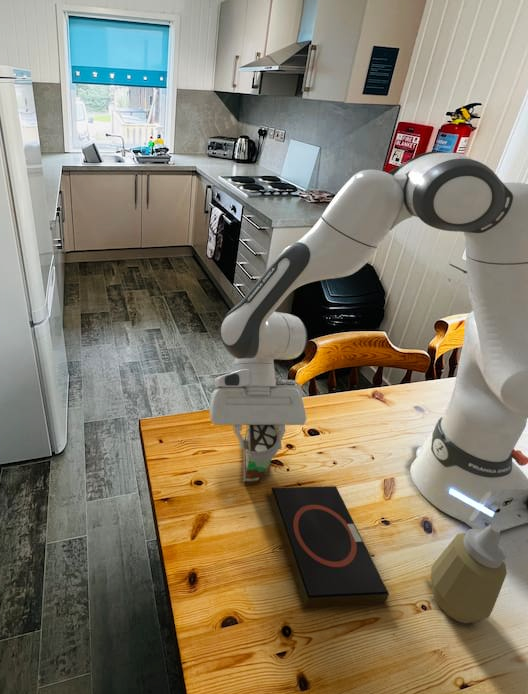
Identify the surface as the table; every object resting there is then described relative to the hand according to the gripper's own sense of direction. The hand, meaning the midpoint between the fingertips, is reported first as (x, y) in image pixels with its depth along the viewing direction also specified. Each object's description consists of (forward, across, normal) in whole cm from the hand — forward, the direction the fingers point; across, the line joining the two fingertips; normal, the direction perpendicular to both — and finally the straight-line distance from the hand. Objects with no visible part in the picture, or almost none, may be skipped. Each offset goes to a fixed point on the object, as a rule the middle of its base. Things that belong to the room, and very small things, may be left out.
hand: (260, 449), depth 81 cm
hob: (+15, -7, +7) cm, 18 cm away
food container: (+4, -1, -4) cm, 6 cm away
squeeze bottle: (+21, -26, +13) cm, 36 cm away
